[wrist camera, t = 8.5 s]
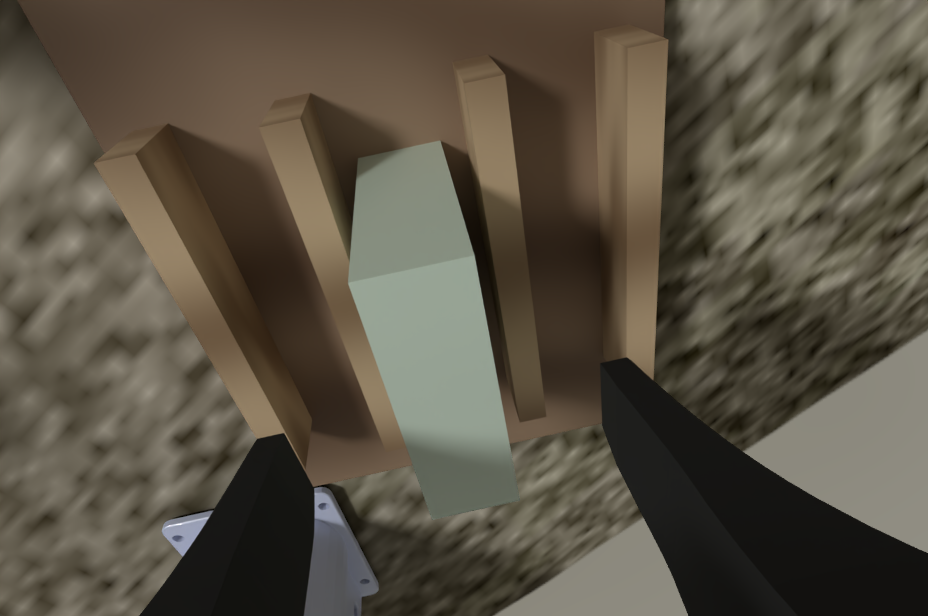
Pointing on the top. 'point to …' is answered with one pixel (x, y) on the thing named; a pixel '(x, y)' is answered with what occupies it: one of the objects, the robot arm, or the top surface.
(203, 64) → the dish rack
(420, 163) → the pale green block
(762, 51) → the top surface
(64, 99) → the top surface
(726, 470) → the robot arm
